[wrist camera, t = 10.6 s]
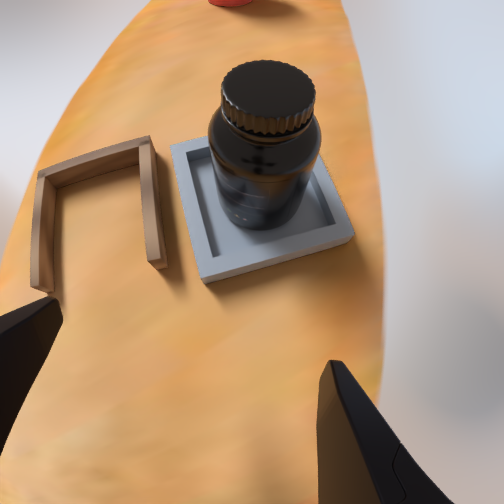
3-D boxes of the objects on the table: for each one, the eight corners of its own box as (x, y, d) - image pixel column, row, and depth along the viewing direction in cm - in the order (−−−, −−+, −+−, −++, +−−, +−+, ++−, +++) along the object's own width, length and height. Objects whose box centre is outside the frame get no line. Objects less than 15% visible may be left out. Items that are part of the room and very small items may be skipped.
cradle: (168, 267, 23) (160, 258, 21) (46, 292, 22) (30, 286, 20) (155, 151, 27) (149, 135, 24) (50, 183, 25) (38, 171, 23)
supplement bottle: (244, 150, 26) (247, 37, 15) (313, 184, 25) (355, 79, 14) (200, 208, 24) (173, 100, 13) (274, 250, 23) (304, 158, 12)
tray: (346, 243, 24) (355, 233, 22) (204, 284, 23) (200, 278, 21) (296, 131, 28) (300, 117, 26) (174, 159, 26) (169, 145, 24)
